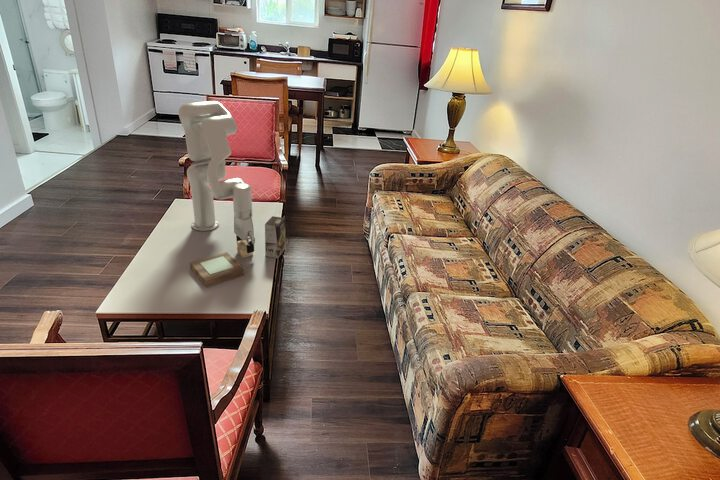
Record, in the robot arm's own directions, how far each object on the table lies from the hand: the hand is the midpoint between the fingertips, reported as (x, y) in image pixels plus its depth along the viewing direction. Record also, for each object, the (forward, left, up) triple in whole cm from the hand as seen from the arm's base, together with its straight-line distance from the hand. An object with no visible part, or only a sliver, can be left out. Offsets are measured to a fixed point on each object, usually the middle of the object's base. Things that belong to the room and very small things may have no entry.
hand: (245, 247), depth 189 cm
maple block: (-1, 0, -4) cm, 4 cm away
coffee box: (+5, +12, -4) cm, 14 cm away
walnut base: (+6, -16, -4) cm, 18 cm away
